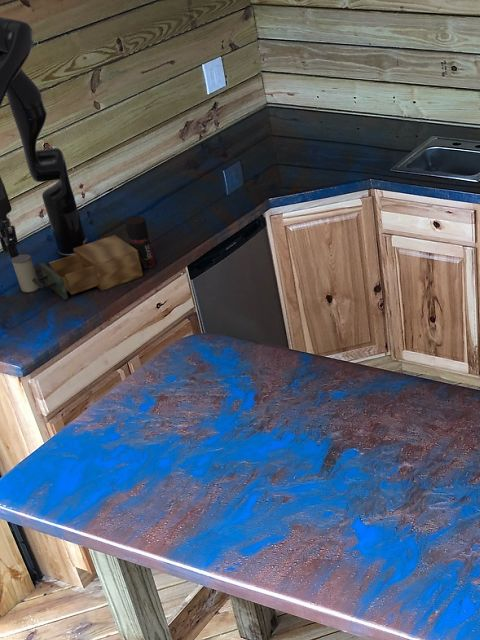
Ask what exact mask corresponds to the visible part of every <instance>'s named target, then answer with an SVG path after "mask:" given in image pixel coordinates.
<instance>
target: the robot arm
mask: <svg viewBox="0 0 480 640" xmlns="http://www.w3.org/2000/svg"><path fill="white" fill-rule="evenodd" d="M34 43H35V35H34V31H33V28H32V27H31V25H30V24H29V23H28V22H25V21H23V20H19V19H12V18H8V17H4V16H3V17H2V16H0V107H1V106H2V104H3V101H4V98H5V97H6V98H7V101H8V104H9V107H10V110H11V114H12V117H13V119H14V123H15V125H16V127H17V130H18V134H19V138H20V140H21V144H22V148H23V153H24V157H25V162H26V164H27V168H28V172H29V175H30V176H31V178H32V180H33V181H34V182H36V183H45V182H50V181H57V182H56V183H55V184H53V185H52V186H50V187H48V188H47V189H46V190H44V191H43V193H42V195H41V198H42V201H43V204H44V208H45V211H46V214H47V218H48V221H49V224H50V228H51V231H52V236H53V238H54V243H55V245H56V249H57V253H58V255H60V256H62V257H67V256H70V255H73V254H74V251H73V248H76V247H79V246H82V245H85V244H88V237H86V234H85V232H84V231H85V230H84V228H83V224H82V220H81V217H80V213H79V209H78V205H77V201H76V198H75V195H74V191H73V188H72V184H71V180H70V176H69V173H68V166H67V162H66V158H65V155H64V153H63V151H62V150H61V149H60V148H58V147H53V148H46V149H45V148H44V149H38V150H36V149H37V142H38V139H39V136H40V134H41V132H42V129H43V128H44V126H45V124H46V120H47V115H48V114H47V108H46V105H45V101H44V97H43V95H42V93H41V90H40V88H39V87H38V86H37V85H36V83H35V82H34V81H33V80H32V79H31V78H30V77H29V76H28V74H26V72H25V71H24V70H23V69H22V68H23V66H24V65H25V63H26V62H27V61H28V59H29V57H30V55H31V54H32V53H31V52H33V51H32V50H33V47H34ZM11 211H12V204H11V202H10V199H9V195H8V193H7V189H6V187H5V183H4V181H3V179H2V177H1V176H0V246H1V248H2V251H3V252H4V253H8V255H9V257H10V258H11V259H12V258H14V257H17V256H18V255H20V253H19V251H18V249H17V244H18V243H19V241H18V238H17V231H16V227H15V226H14V225H12V222H11V220H10V218H9V217H8V216H7V215H8V214H9V213H11Z"/></svg>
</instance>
